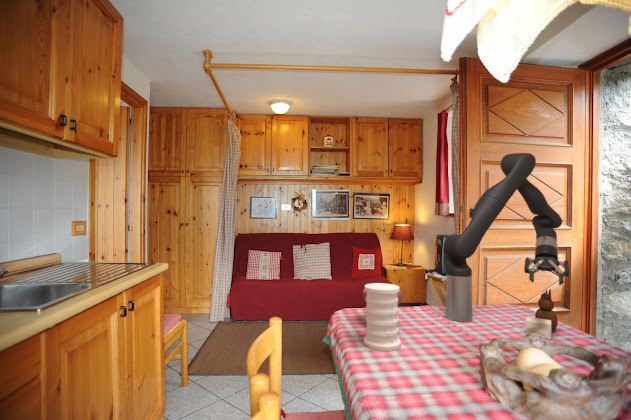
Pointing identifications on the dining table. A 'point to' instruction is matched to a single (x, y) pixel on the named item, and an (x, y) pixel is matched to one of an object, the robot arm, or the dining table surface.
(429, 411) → the dining table surface
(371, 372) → the dining table surface
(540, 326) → the limewashed block
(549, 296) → the wooden figurine
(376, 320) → the decorative container
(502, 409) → the dining table surface
